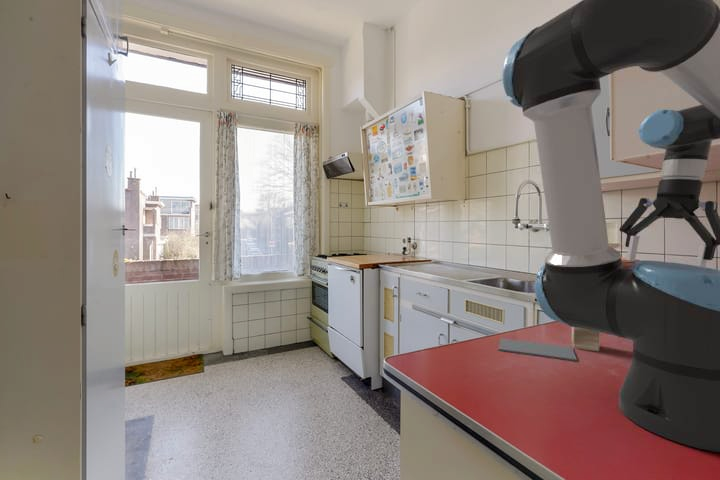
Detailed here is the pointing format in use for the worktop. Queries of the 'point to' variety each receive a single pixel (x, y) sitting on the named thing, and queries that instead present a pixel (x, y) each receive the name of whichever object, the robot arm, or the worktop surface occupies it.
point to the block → (585, 339)
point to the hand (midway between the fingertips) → (662, 266)
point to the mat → (537, 349)
